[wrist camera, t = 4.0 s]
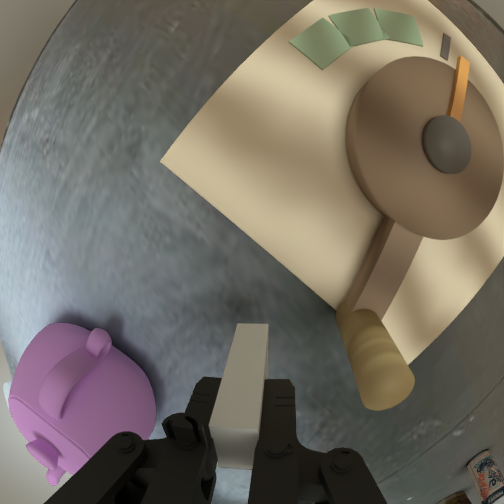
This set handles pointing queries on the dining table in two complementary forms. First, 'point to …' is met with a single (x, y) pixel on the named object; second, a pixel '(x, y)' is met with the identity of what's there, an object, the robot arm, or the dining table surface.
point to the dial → (412, 196)
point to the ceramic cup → (456, 499)
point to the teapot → (77, 397)
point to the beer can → (487, 478)
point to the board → (334, 157)
